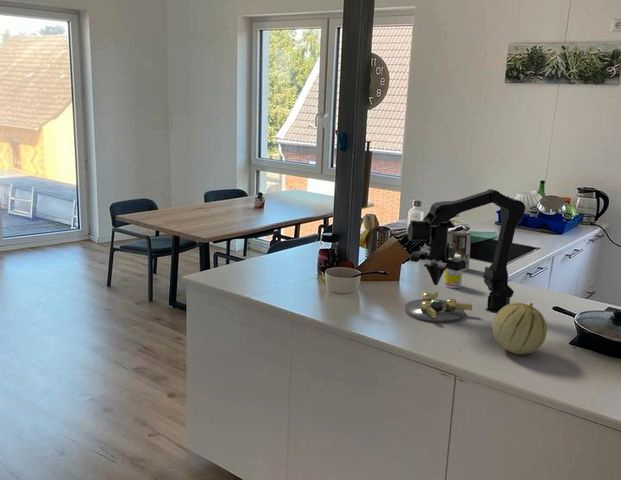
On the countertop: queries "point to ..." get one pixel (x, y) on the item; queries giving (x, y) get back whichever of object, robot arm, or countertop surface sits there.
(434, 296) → the knob
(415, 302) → the tribrach plate
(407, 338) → the countertop surface
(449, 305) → the knob
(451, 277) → the supplement bottle
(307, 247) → the countertop surface
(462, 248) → the coffee box
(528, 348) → the cantaloupe
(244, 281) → the countertop surface
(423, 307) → the knob
